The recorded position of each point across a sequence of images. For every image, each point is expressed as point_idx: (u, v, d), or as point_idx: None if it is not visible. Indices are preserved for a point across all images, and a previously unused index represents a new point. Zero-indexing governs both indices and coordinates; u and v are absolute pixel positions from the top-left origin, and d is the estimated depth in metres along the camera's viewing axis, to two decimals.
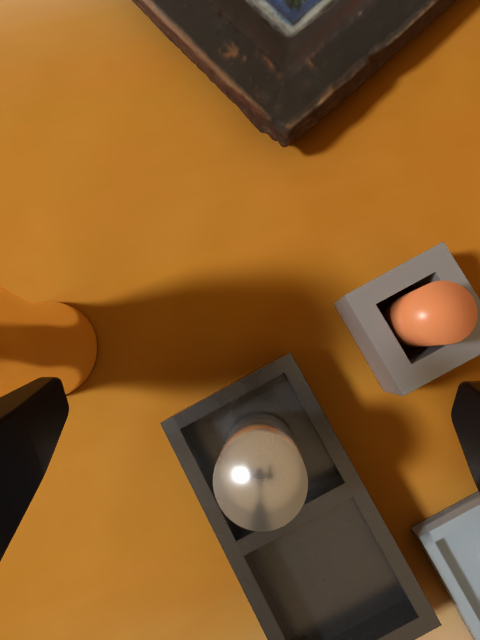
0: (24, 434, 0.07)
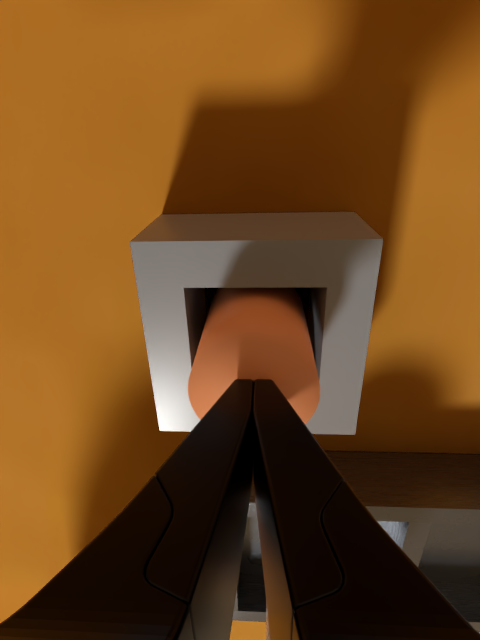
0: (251, 438, 0.07)
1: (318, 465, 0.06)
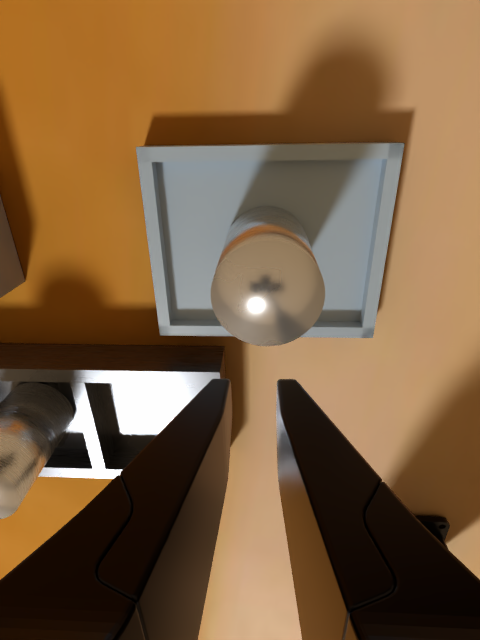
0: (224, 438, 0.07)
1: (354, 466, 0.05)
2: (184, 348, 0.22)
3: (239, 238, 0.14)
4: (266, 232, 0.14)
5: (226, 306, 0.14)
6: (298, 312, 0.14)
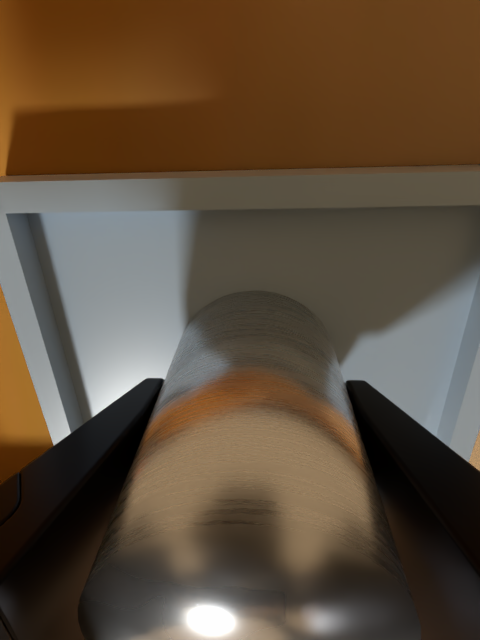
0: None
1: (461, 468, 0.05)
2: None
3: (169, 447, 0.05)
4: (242, 444, 0.05)
5: None
6: None
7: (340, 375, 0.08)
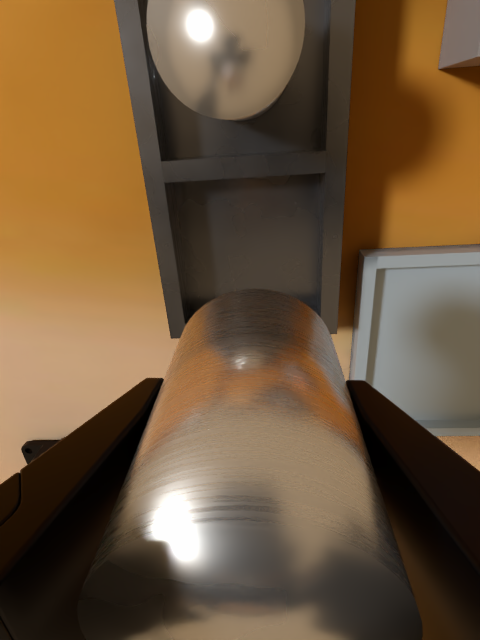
0: None
1: (461, 468, 0.05)
2: None
3: (169, 444, 0.05)
4: (243, 441, 0.05)
5: None
6: None
7: (341, 373, 0.08)
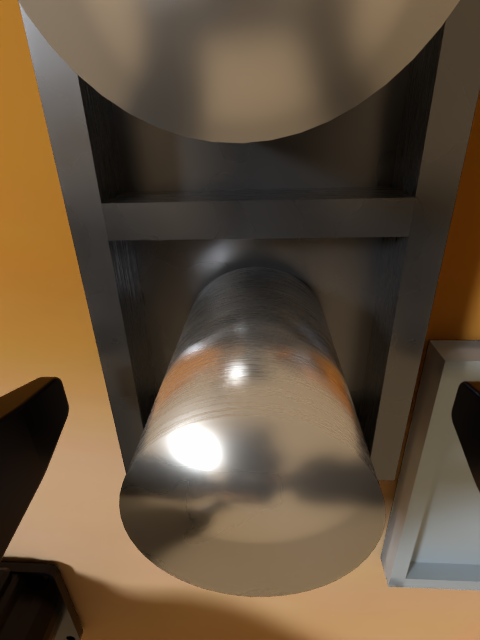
0: (24, 434, 0.07)
1: None
2: None
3: (188, 376, 0.06)
4: (247, 370, 0.06)
5: (159, 533, 0.06)
6: (321, 548, 0.06)
7: (329, 335, 0.09)
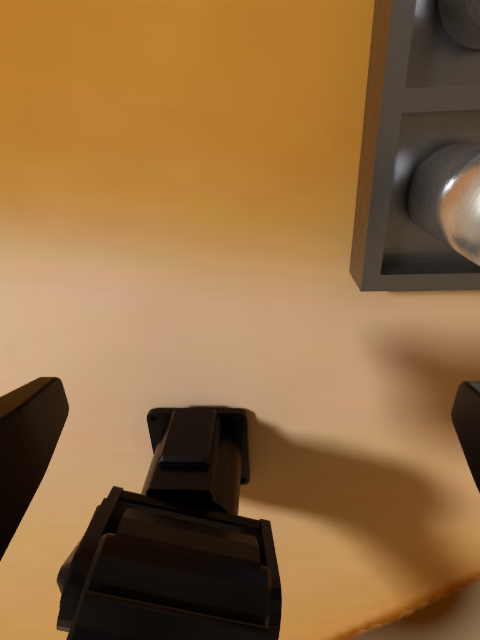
0: (24, 434, 0.07)
1: None
2: None
3: None
4: None
5: None
6: None
7: None
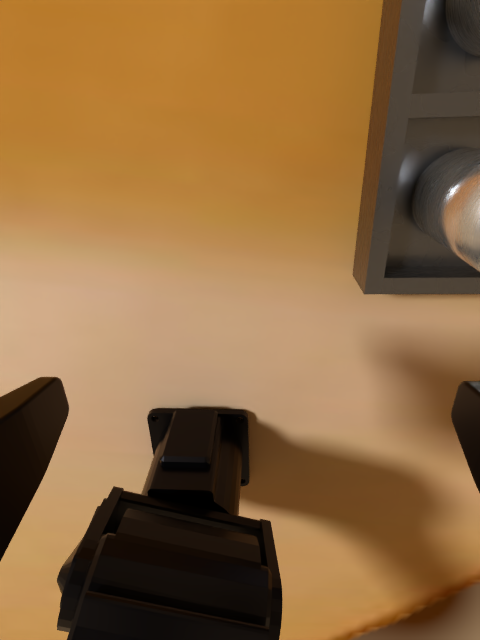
0: (24, 434, 0.07)
1: None
2: None
3: None
4: None
5: None
6: None
7: None
